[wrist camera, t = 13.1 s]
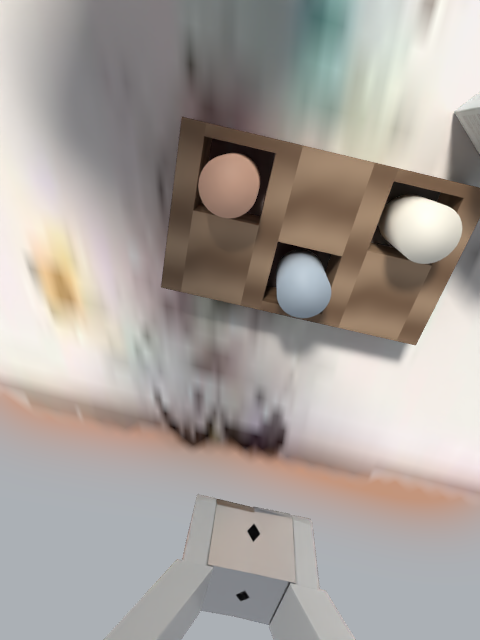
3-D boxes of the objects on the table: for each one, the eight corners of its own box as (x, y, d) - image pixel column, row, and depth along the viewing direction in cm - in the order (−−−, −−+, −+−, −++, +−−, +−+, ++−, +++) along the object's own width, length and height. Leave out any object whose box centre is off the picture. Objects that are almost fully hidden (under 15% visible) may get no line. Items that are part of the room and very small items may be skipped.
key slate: (282, 244, 35) (284, 262, 30) (328, 254, 35) (338, 275, 30) (271, 287, 37) (271, 311, 32) (314, 297, 37) (321, 323, 32)
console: (192, 119, 33) (181, 116, 29) (466, 185, 34) (493, 190, 30) (172, 272, 40) (160, 287, 36) (401, 325, 40) (415, 345, 36)
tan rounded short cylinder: (215, 147, 32) (203, 148, 27) (265, 159, 32) (264, 162, 27) (206, 200, 34) (194, 211, 29) (254, 211, 34) (250, 224, 29)
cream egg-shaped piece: (390, 188, 32) (414, 197, 27) (440, 200, 32) (473, 212, 27) (371, 238, 34) (389, 256, 29) (418, 249, 34) (445, 269, 29)
